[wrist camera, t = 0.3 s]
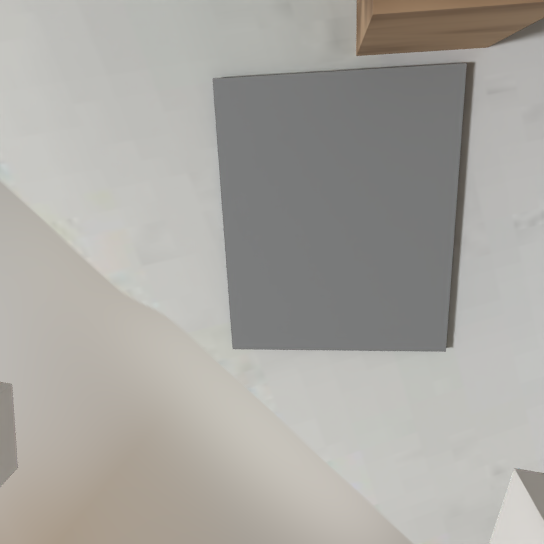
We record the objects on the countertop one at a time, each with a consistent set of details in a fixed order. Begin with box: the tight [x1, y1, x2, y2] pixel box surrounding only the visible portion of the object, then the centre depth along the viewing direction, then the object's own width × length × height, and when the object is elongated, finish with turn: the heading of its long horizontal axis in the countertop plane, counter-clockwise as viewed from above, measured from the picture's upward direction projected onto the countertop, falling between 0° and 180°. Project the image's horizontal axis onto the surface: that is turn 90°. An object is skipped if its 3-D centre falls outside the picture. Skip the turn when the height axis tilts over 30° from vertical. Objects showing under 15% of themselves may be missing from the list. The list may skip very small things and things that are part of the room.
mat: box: [213, 63, 467, 352], centre depth 36 cm, size 22×18×1 cm
